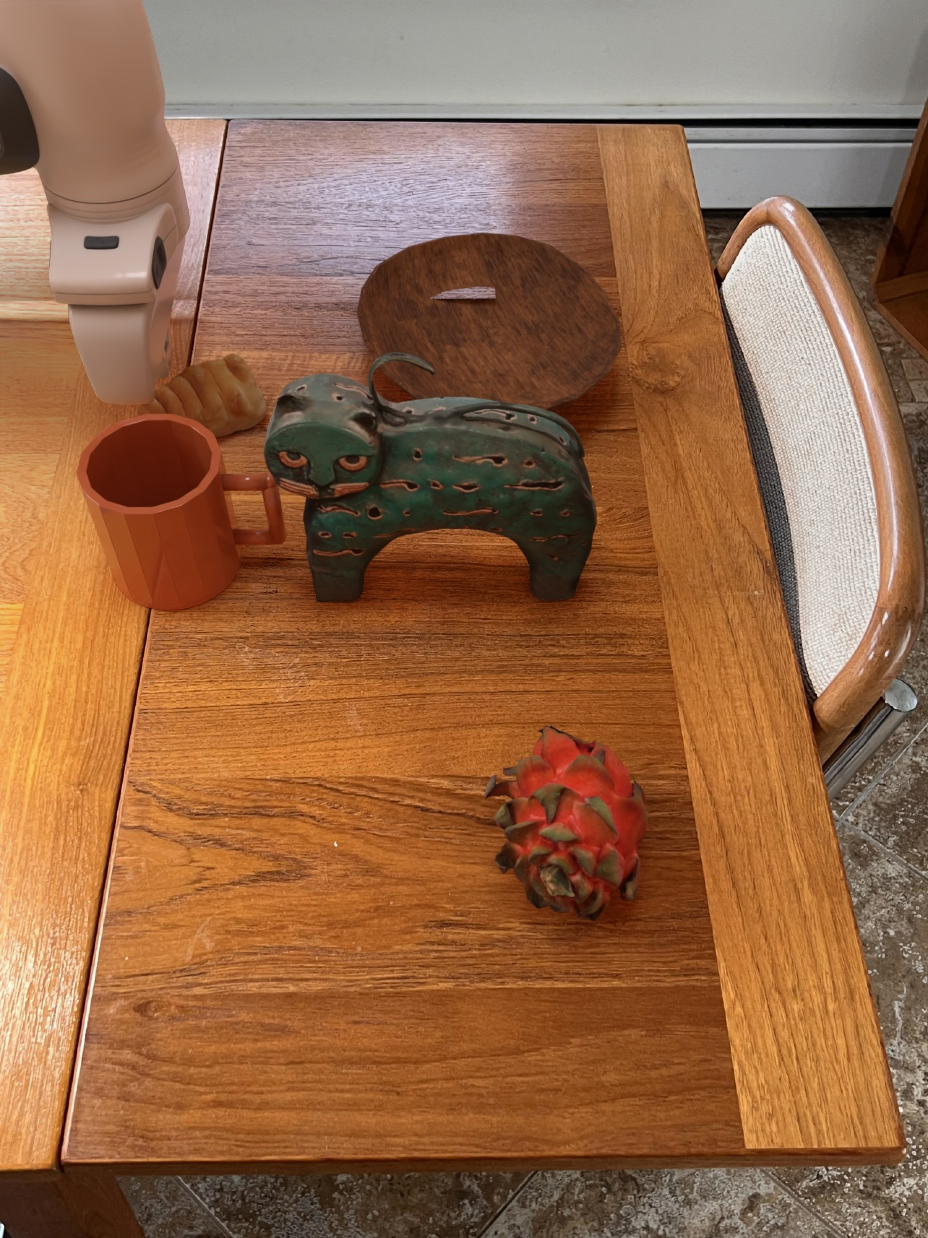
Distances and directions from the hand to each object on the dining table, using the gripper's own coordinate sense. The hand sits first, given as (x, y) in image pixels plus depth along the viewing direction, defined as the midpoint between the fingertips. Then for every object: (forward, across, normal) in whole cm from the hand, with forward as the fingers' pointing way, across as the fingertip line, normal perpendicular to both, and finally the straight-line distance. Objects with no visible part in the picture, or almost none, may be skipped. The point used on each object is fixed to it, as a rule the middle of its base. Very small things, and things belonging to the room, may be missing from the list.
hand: (160, 366), depth 88 cm
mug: (+3, +17, +5) cm, 18 cm away
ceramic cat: (+3, +19, +21) cm, 29 cm away
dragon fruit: (+3, +39, +28) cm, 48 cm away
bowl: (+3, -3, +25) cm, 25 cm away
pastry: (+3, +3, +4) cm, 5 cm away
